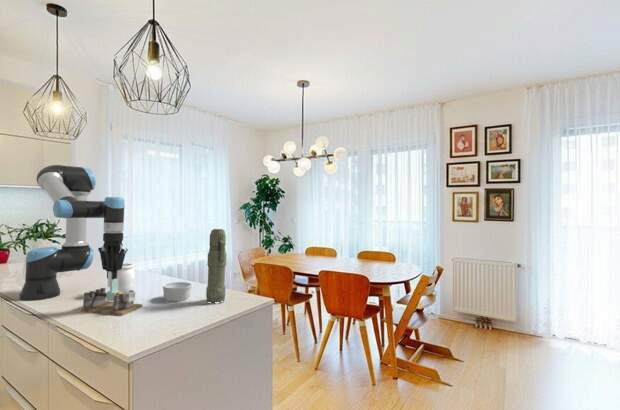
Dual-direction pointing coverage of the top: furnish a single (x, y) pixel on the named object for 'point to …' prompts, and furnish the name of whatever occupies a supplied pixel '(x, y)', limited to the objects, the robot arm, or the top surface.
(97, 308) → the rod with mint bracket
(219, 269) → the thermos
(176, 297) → the ramekin
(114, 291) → the mint green stepped block
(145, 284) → the top surface
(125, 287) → the jar
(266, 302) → the top surface
